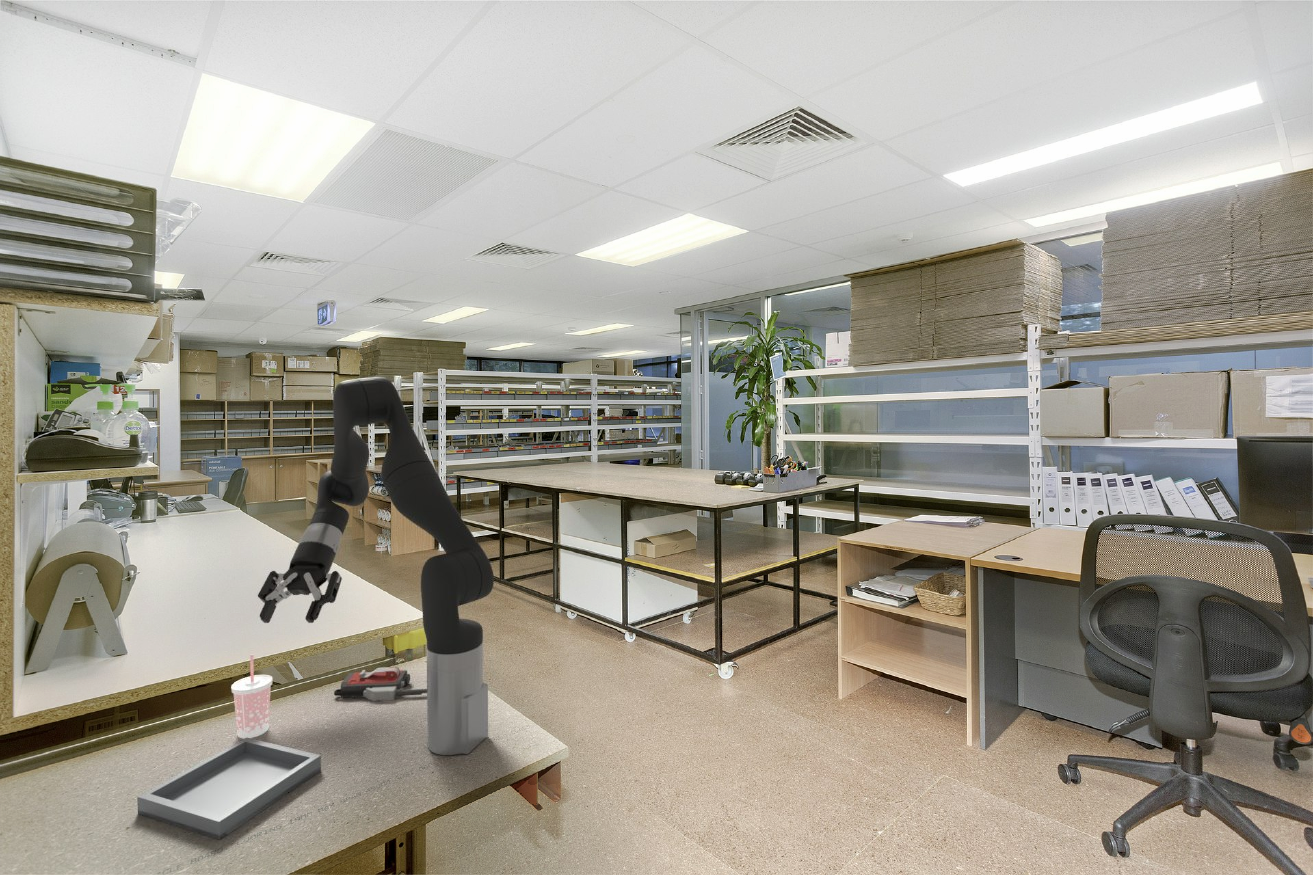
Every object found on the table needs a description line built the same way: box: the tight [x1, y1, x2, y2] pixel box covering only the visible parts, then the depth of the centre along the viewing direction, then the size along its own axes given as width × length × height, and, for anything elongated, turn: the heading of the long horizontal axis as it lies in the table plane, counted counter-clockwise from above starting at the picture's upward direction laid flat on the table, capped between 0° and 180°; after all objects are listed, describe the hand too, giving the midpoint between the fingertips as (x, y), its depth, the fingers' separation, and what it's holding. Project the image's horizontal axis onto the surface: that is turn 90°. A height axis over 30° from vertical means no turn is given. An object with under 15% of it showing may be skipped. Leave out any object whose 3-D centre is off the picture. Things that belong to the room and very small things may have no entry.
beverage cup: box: [230, 653, 274, 739], centre depth 104 cm, size 6×6×14 cm
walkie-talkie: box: [333, 666, 427, 701], centre depth 120 cm, size 9×4×20 cm
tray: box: [136, 737, 322, 841], centre depth 88 cm, size 16×16×2 cm
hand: (286, 621), depth 115 cm, fingers open, 8 cm apart
